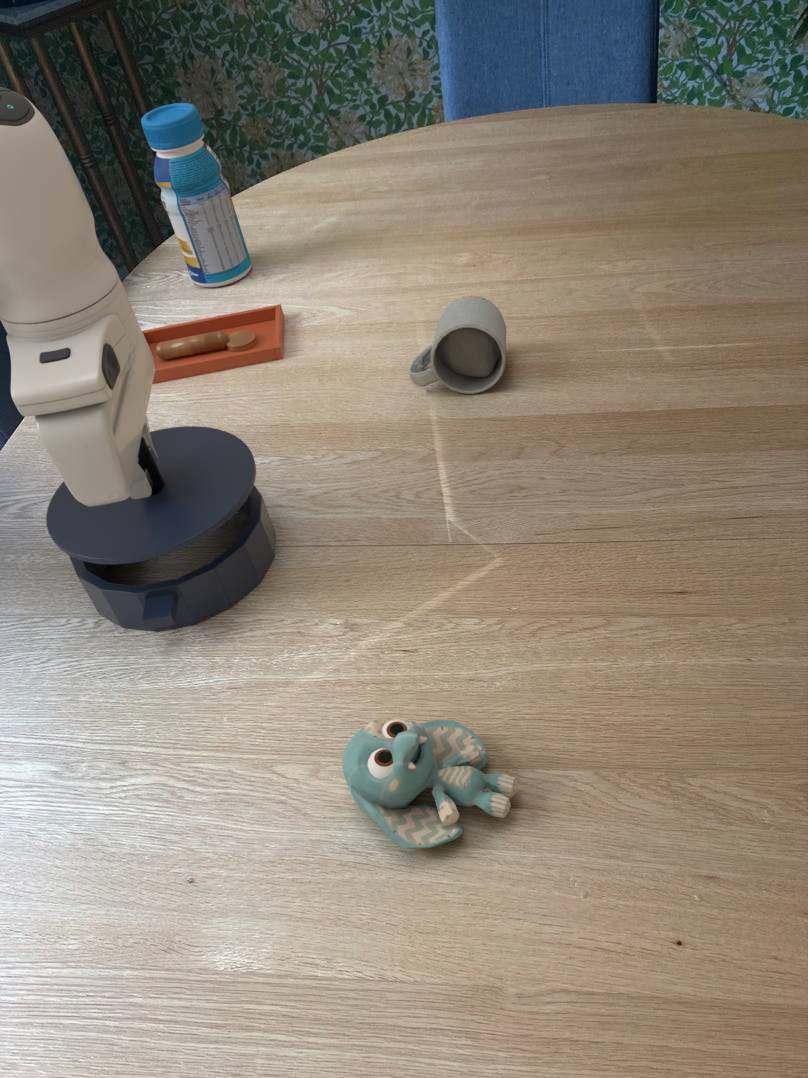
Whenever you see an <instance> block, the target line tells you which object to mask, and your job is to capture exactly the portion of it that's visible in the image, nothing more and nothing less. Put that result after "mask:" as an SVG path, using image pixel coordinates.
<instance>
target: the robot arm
mask: <svg viewBox="0 0 808 1078" xmlns="http://www.w3.org/2000/svg"><path fill="white" fill-rule="evenodd" d="M96 232H97V231H96V225H95V218H94V214H93V211H92V209H91V206H90V204H89V201H88V198H87V197H86V195H85V192H84V190H83V187H82V185H81V183H80V180H79V178H78V177H77V174H76V171H75V170H74V168H73V166H72V164H71V162H70V160H69V157H68V156H67V154H66V151H65V150H64V147H63V145H62V144H61V142H60V140H59V139H58V137H57V135H56V134H55V132H54V130H53V129H52V127H51V125H50V124H49V122H48V121H47V120H46V118H45V117H44V115H43V114H42V113H41V112H40V110H38V108H37V107H36V106H35V105H34V104H33V102H31V100H29V99H28V98H27V97H26V96H25V95H23V94H21V93H19V92H17V91H14V90H11V89H9V88H6V87H4V86H0V322H1V325H2V326H3V327H4V330H5V332H6V333H7V335H6V344H7V347H8V351H9V356H10V396H11V400H12V401H13V403H14V405H15V407H16V409H17V411H18V412H19V413H20V415H21V416H22V417H24V418H25V417H34V425H35V428H36V432H37V434H38V438H39V440H40V442H41V444H42V446H43V448H44V450H45V452H46V454H47V455H48V457H49V459H50V460H51V462H52V464H53V466H54V468H55V469H56V472H57V473H58V475H59V477H60V478H61V479H62V482H63V481H64V482H65V484H66V486H67V487H68V489H69V490H70V492H71V493H72V495H73V496H74V497H75V499H76V500H77V501H79V502H80V503H82V504H84V505H86V506H89V507H92V506H99V505H105V504H110V503H115V502H119V501H123V500H126V499H128V498H129V496H130V497H131V498H132V499H141V498H146V497H149V496H150V495H151V492H152V486H153V481H152V479H151V478H150V475H149V473H148V470H147V469H142V468H141V467H140V466H139V464H138V460H139V459H138V453H139V448H140V443H141V438H142V437H143V438H144V439H145V441H146V443H147V446H148V448H149V450H150V452H151V454H152V457H153V459H154V461H155V463H157V458H158V455H157V453H156V451H155V448H154V446H153V444H152V440H151V435H150V432H151V430H150V425H149V419H148V416H147V413H148V407H149V404H150V403H149V402H150V398H151V392H152V388H153V384H152V383H153V378H154V373H155V364H154V359H153V356H152V352H151V350H150V347H149V345H148V343H147V341H146V339H145V337H144V334H143V332H142V331H143V330H142V327H141V326H140V323H139V321H138V318H137V316H136V314H135V312H134V309H133V307H132V305H131V301H130V299H129V297H128V294H127V291H126V289H125V287H124V285H123V283H122V280H121V278H120V276H119V274H118V271H117V269H116V267H115V265H114V264H113V262H112V260H111V259H110V258H109V257H108V256H107V254H106V253H105V252H104V250H103V248H102V247H101V244H100V243H99V240H98V237H97V233H96Z"/></svg>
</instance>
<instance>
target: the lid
mask: <svg viewBox="0 0 808 1078" xmlns="http://www.w3.org/2000/svg"><path fill="white" fill-rule="evenodd" d="M150 435H151V440H152V444H153V446H154V448H155V451H156V453H157V455H158V458H157V463H155V461H154V459H153V457H152V454H151V452H150V450H149V448H148V446H147V443H146V441H145V439H144V438H143V437H142V438H141V443H140V448H139V453H138V459H139V460H138V464H139V466H140V467H141V468H142V469H147V470H148V473H149V475H150V478H151V479H152V481H153V486H152V492H151V495H150V496H149V497H146V498H141V499H132V498H131V497H130V496H129V498H128V499H126V500H123V501H119V502H115V503H110V504H105V505H99V506H92V507H89V506H86V505H84V504H82V503H80V502H79V501H77V500H76V499H75V497H74V496H73V495H72V493H71V492H70V490H69V489H68V487H67V486H66V484H65V482H64V481H63V480H62V482H61V484H59V486H58V487H57V488H56V490H55V492H54V494H53V495H52V497H51V499H50V501H49V504H48V506H47V510H46V516H45V521H46V522H45V523H46V528H47V532H48V534H49V536H50V538H51V540H52V541H53V543H54V544H55V545H56V547H57V548H59V550H60V551H61V552H63V553H65V554H66V555H67V556H68V557H69V556H72V557H74V558H76V559H78V560H82V561H86V562H90V563H97V564H107V565H125V564H126V565H127V564H128V565H129V564H133V563H139V562H146V561H149V560H150V561H151V560H154V559H157V558H160V557H164V556H167V555H170V554H173V553H175V552H178V551H180V550H183V549H186V548H187V547H189V546H191V545H193V544H195V543H197V542H199V541H201V540H203V539H204V538H206V537H207V536H210V535H211V534H212V533H214V532H215V531H216V530H219V529H220V527H222V526H224V524H226V523H227V522H228V521H229V520H230V519H232V517H234V515H235V514H236V513H238V512H237V511H238V510H239V509H240V508H241V506H242V505H243V504H244V502H245V501H246V500H247V498H248V496H249V494H250V493H251V491H252V488H253V486H254V485H255V482H256V478H257V464H256V460H255V458H254V457H255V456H254V455H253V452H252V451H251V449H250V447H249V446H248V445H247V444H246V442H244V441H243V440H242V439H241V438H239V437H238V436H236V435H235V434H233V433H231V432H228V431H226V430H222V429H219V428H214V427H209V426H208V427H207V426H198V425H197V426H193V425H192V426H189V425H188V426H186V425H185V426H174V427H167V428H161V429H157V430H153V431H150Z"/></svg>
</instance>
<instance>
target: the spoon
mask: <svg viewBox="0 0 808 1078" xmlns="http://www.w3.org/2000/svg"><path fill="white" fill-rule="evenodd" d="M257 341H258V340H257V337H256V334H255V332H253V331H250V330H242V331H238V332H235V333H233V334H231V335H230V336H228V335H227V334H226V333H225V332H222V331H217V332H212V333H206V334H201V335H196V336H191V337H186V338H180V339H175V340H170V341H165V342H160V343H159V344H158V345H157V346H156V349H155V351H156V354H157V356H158V357H159V358H160V359H163V360H168V359H173V358H178V357H183V356H189V355H194V354H199V353H204V352H209V351H215V350H220V349H224V348H226V347H227V348H228V350H230V351H232V352H242V351H246V350H249V349H251V348H252V347H254V346H255V345H256V344H257Z"/></svg>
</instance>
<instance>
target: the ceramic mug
mask: <svg viewBox="0 0 808 1078" xmlns="http://www.w3.org/2000/svg"><path fill="white" fill-rule="evenodd" d="M429 364H430V366H431V367H428V368H427V366H428V365H429ZM506 364H507V325H506V322H505V318H504V316H503V314H502V312H501V310H500V309H499V307H497V305H495V304H494V303H493V302H491V301H490V300H488V299H486V298H484V297H481V296H477V295H476V296H475V295H468V296H462V297H460V298H456V299H455V300H454V301H452V302H451V303H450V304H449V305H448V306H447V307H446V308H445V309H444V310H443V311H442V314H441V315H440V317H439V321H438V322H437V325H436V331H435V335H434V338H433V343H432V344H431V345H429V346H428V347H426V348H425V349H423V350H422V351H421V352H420V353H419V354H418V355H417V356H416V357H415V358H414V360H413V361H412V363H411V364H410V365H409V366H410V367H409V370H408V373H409V376H410V377H411V379H412V380H413V381H414V383H415V384H416V385H419V386H422V387H425V386H426V387H427V386H428V385H431V384H434V383H437V382H438V381H439V383H441V384H442V385H443V386H444V387H446V388H447V389H449V390H451V391H452V392H455V393H459V394H465V395H474V394H480V393H484V392H485V391H487V390H489V389H491V388H493V387H494V386H495V385H496V384H498V382H499V381H500V379H501V378H502V376H503V374H504V372H505V369H506V366H507V365H506ZM425 368H427V369H425Z"/></svg>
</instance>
